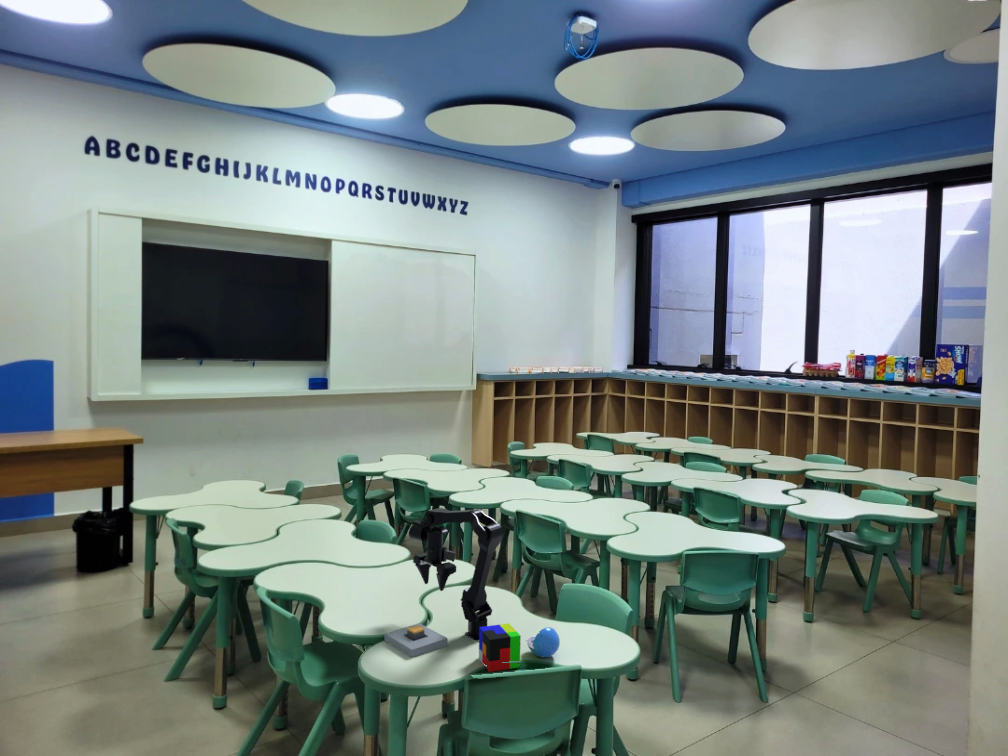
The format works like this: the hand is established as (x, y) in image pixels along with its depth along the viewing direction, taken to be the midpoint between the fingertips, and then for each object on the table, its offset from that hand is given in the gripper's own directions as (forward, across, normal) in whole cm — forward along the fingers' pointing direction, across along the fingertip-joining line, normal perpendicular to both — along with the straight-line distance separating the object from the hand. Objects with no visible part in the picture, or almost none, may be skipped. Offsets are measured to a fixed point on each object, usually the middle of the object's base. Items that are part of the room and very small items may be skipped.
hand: (434, 587), depth 251 cm
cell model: (+12, -45, -10) cm, 48 cm away
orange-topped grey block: (+12, -12, +16) cm, 23 cm away
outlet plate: (+12, -12, +16) cm, 23 cm away
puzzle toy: (+12, -40, +4) cm, 42 cm away
